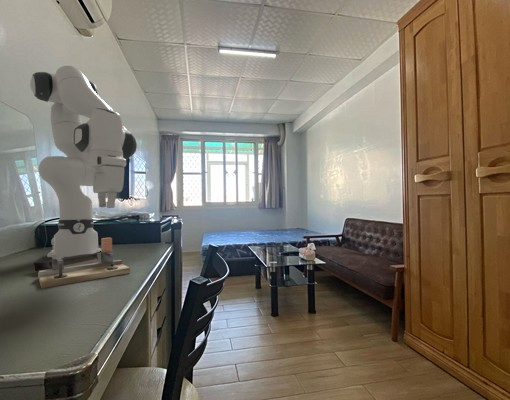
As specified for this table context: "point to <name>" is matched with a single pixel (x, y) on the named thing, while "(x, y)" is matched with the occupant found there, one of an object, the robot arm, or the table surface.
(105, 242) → the block
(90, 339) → the table surface
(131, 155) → the robot arm
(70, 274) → the hole plate
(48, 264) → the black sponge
